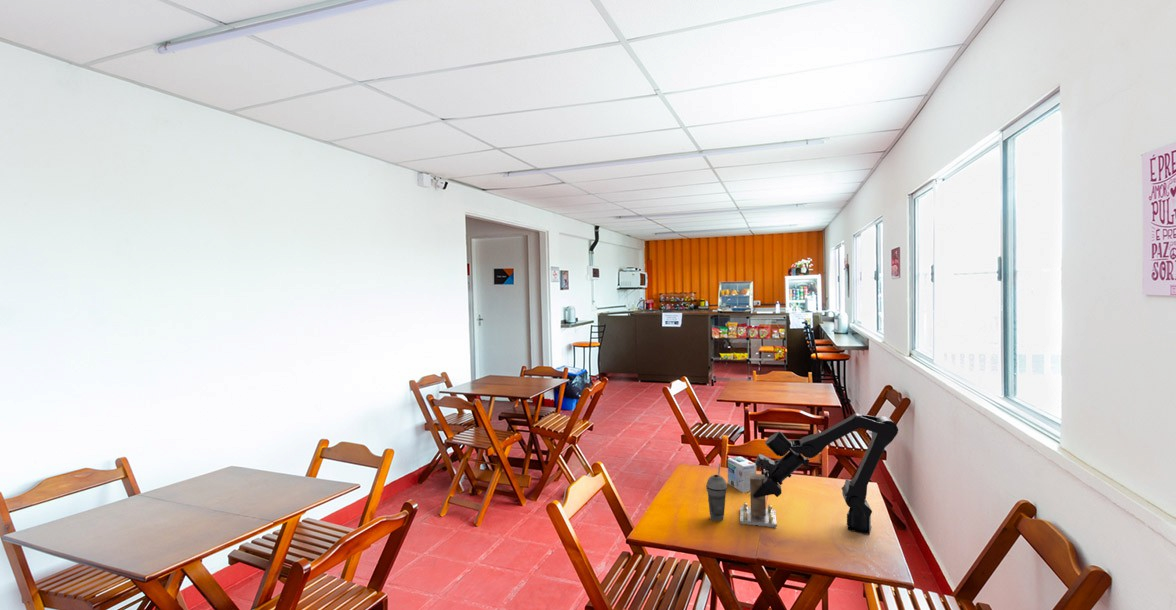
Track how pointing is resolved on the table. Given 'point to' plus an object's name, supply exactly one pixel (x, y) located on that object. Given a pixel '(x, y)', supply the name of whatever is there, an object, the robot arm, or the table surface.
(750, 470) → the light bulb box
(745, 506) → the plate
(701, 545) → the table surface
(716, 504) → the beverage cup
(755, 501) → the walnut block
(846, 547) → the table surface
